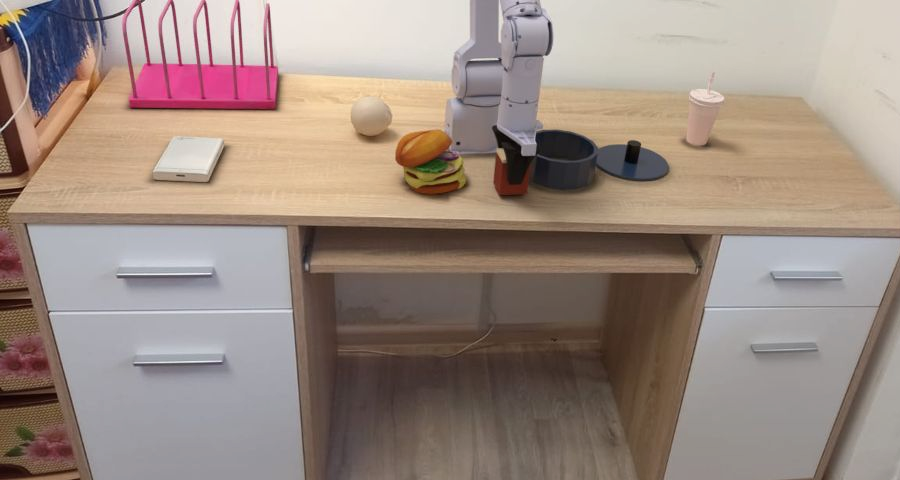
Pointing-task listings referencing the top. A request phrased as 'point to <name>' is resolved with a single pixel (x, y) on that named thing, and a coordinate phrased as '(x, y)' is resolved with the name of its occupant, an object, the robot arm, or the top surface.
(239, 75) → the file sorter
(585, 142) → the pot
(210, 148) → the hard drive
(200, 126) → the top surface
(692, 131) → the smoothie
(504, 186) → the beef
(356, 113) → the cream ball
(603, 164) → the pot lid
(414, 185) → the cheeseburger
